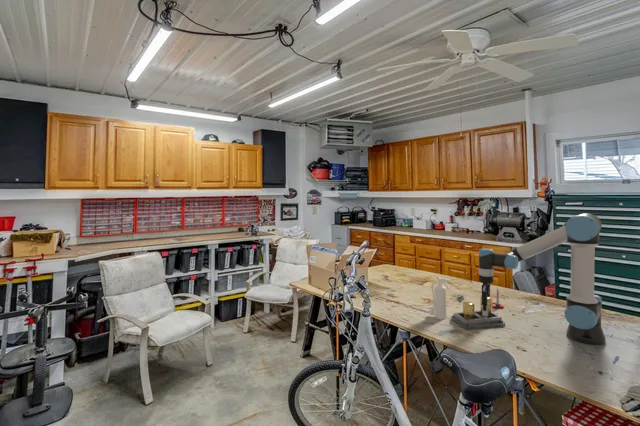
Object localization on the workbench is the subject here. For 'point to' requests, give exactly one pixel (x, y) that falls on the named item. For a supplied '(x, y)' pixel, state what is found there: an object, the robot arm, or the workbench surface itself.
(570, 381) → the workbench surface
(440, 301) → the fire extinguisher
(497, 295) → the tow hook
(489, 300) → the sleeve
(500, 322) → the housing
